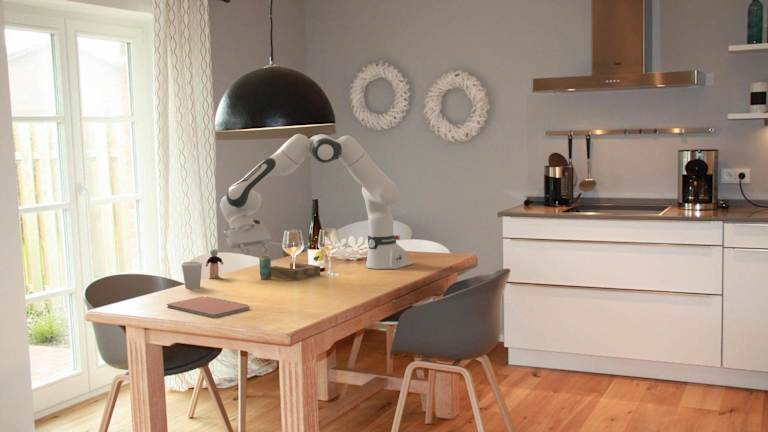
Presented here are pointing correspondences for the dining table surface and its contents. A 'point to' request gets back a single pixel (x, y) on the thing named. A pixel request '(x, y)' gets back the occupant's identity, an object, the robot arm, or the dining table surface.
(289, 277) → the dark brown square block
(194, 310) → the notebook
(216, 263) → the grandmother figurine
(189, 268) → the dixie cup
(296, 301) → the dining table surface
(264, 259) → the teal drink can
